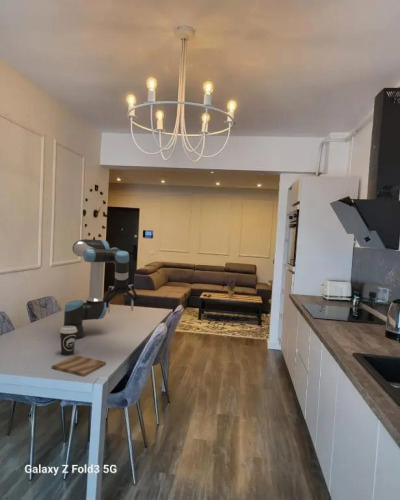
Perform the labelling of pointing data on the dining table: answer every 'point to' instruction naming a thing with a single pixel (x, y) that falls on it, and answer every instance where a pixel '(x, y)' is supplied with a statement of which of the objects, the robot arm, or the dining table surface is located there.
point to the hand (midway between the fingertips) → (120, 311)
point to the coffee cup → (68, 339)
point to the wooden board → (78, 365)
